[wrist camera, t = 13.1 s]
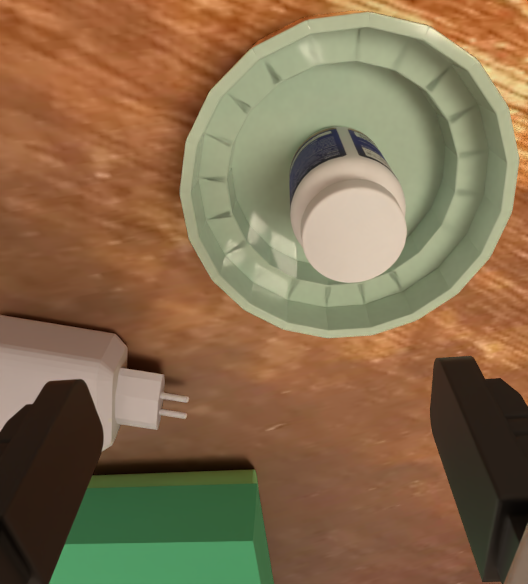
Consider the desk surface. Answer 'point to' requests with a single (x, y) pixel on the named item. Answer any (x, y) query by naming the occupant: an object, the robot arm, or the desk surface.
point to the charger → (78, 373)
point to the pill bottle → (346, 205)
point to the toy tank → (168, 531)
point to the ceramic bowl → (390, 141)
